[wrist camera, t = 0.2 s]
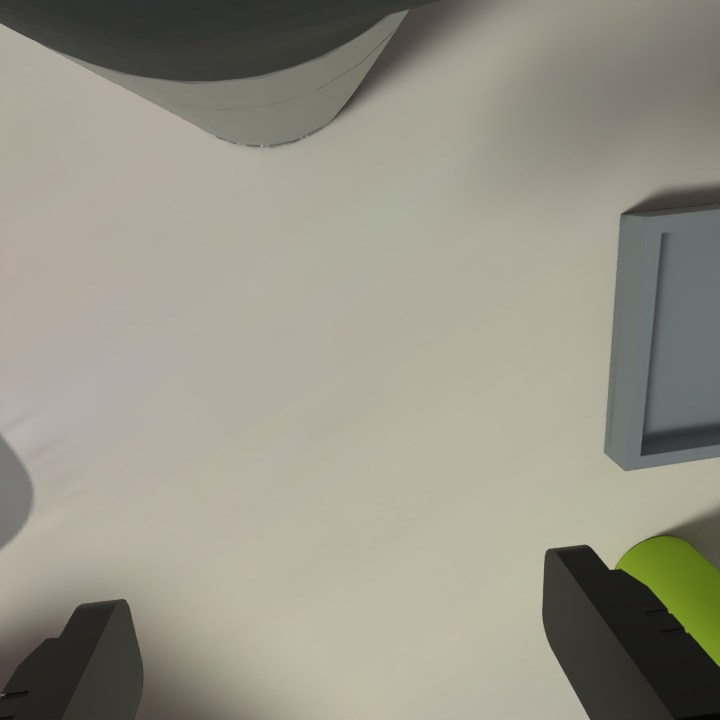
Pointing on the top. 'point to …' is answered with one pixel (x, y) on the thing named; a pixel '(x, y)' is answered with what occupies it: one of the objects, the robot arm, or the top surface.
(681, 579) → the soap dispenser
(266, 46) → the robot arm
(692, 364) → the tray
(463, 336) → the top surface
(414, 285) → the top surface
